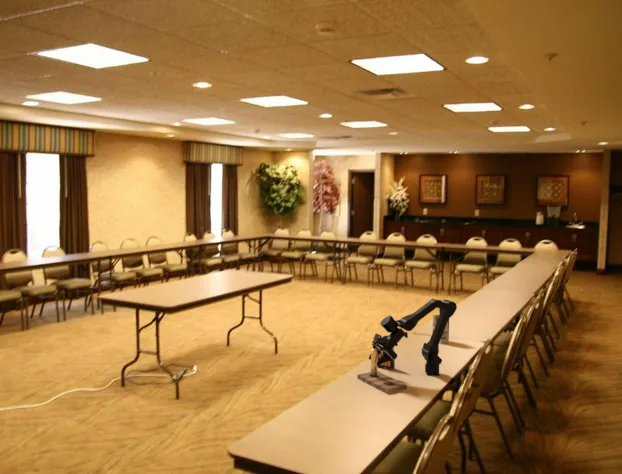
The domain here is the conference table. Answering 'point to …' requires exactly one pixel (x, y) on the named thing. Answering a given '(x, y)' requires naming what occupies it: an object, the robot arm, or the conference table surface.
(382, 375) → the block
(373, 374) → the brass peg
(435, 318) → the coffee box
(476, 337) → the conference table surface
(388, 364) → the ammunition clip
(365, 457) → the conference table surface
